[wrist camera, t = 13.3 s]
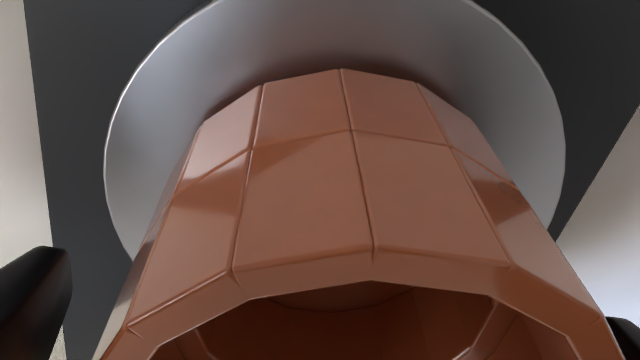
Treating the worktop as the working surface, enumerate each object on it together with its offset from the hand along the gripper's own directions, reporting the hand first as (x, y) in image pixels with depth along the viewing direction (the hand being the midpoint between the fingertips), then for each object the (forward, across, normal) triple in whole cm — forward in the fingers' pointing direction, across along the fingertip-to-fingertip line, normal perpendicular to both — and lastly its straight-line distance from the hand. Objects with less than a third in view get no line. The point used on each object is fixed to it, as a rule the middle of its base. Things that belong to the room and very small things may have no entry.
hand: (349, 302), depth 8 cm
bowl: (+3, 0, 0) cm, 3 cm away
